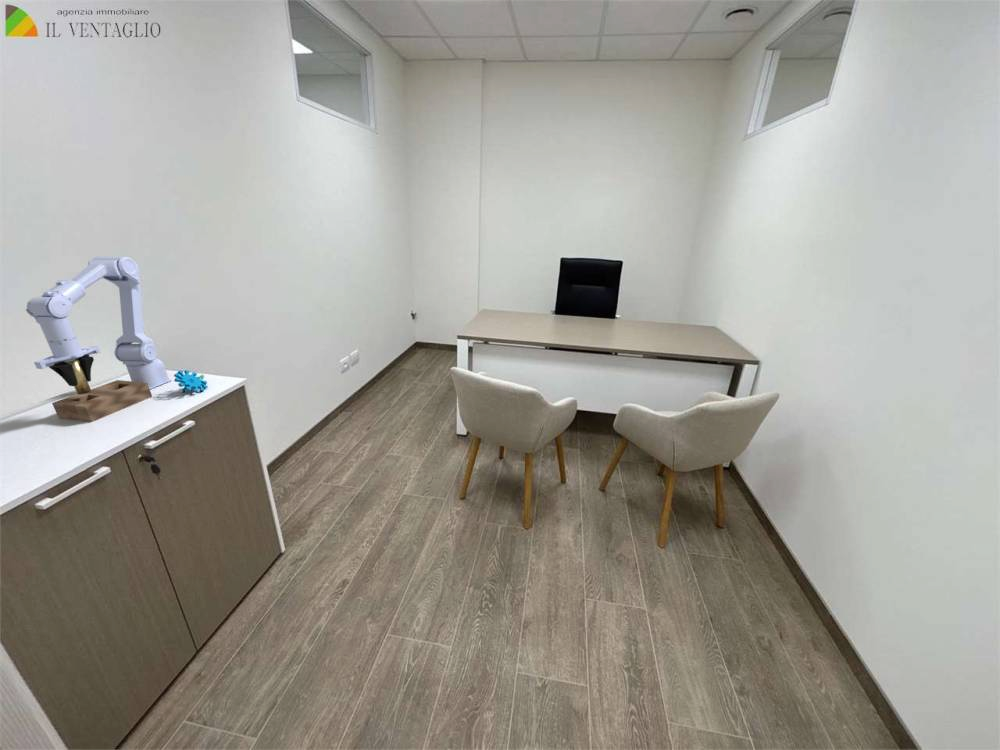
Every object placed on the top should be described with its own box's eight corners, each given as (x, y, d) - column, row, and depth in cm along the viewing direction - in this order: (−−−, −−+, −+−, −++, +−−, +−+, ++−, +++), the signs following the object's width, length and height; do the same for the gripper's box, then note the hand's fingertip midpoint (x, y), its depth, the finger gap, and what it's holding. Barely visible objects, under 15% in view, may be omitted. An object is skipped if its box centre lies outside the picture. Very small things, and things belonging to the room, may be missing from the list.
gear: (193, 393, 131) (168, 372, 129) (183, 405, 132) (158, 384, 130) (217, 384, 141) (194, 365, 140) (207, 395, 142) (185, 376, 141)
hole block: (122, 393, 134) (117, 380, 132) (152, 396, 132) (147, 382, 130) (58, 418, 117) (51, 403, 115) (91, 421, 115) (85, 406, 113)
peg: (85, 389, 119) (72, 358, 116) (94, 390, 119) (81, 359, 115) (74, 393, 117) (60, 362, 113) (82, 394, 116) (69, 362, 113)
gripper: (41, 347, 104) (62, 394, 109) (101, 333, 118) (117, 375, 123) (20, 346, 106) (41, 392, 111) (82, 331, 119) (98, 373, 124)
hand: (80, 383), depth 117 cm, fingers closed on peg, 3 cm apart
